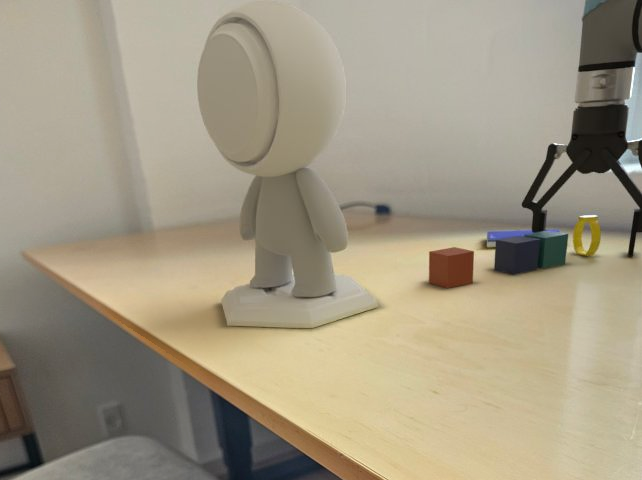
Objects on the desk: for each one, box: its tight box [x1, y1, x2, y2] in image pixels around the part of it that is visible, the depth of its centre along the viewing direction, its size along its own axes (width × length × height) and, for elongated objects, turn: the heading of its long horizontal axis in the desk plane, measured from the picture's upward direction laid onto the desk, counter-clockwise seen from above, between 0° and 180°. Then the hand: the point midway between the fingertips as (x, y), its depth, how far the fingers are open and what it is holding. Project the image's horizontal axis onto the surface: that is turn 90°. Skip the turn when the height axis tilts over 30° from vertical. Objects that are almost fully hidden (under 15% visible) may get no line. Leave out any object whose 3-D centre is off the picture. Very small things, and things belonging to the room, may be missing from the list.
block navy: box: [493, 236, 540, 275], centre depth 99 cm, size 4×4×4 cm
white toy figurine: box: [196, 0, 379, 329], centre depth 82 cm, size 20×23×35 cm
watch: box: [572, 214, 602, 257], centre depth 104 cm, size 6×3×6 cm, turn 8°
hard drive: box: [486, 228, 560, 248], centre depth 117 cm, size 2×8×12 cm
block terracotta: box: [428, 246, 475, 289], centre depth 94 cm, size 4×4×4 cm
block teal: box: [524, 231, 569, 270], centre depth 101 cm, size 4×4×4 cm
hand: (584, 253), depth 105 cm, fingers open, 13 cm apart
